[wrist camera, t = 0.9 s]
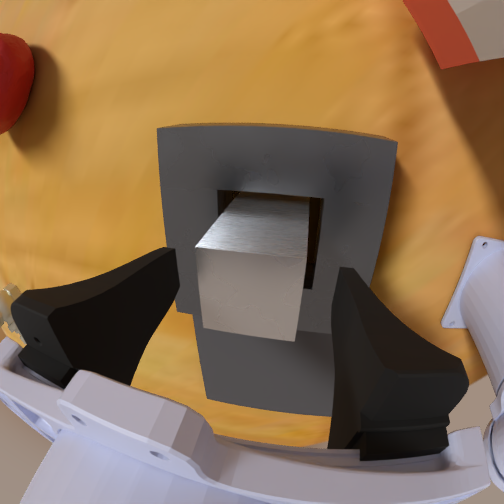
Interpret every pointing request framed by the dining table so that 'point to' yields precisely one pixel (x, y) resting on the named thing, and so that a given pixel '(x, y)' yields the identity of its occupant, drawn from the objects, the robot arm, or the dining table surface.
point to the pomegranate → (14, 78)
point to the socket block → (278, 182)
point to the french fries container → (461, 29)
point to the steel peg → (255, 266)
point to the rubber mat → (268, 370)
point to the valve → (9, 307)
